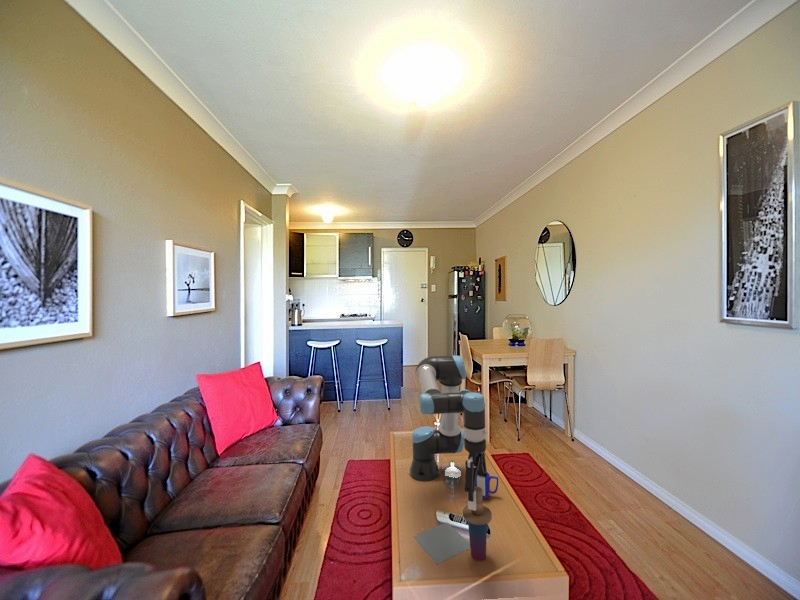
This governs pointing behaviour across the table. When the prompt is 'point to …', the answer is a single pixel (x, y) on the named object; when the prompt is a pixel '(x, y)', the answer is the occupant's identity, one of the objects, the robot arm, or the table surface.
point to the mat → (442, 543)
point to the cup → (478, 541)
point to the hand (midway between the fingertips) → (476, 501)
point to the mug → (488, 484)
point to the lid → (478, 511)
